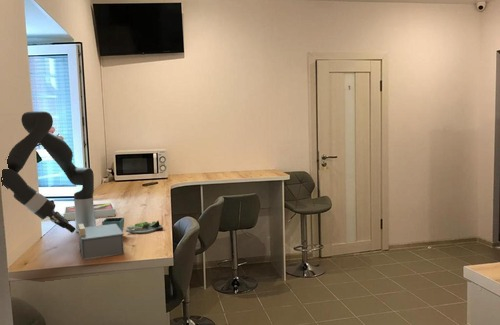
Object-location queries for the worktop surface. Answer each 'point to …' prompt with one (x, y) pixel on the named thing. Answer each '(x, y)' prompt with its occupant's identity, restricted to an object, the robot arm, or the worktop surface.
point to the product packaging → (99, 209)
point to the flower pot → (114, 222)
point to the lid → (98, 231)
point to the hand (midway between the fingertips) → (74, 230)
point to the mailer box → (101, 247)
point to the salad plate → (144, 227)
